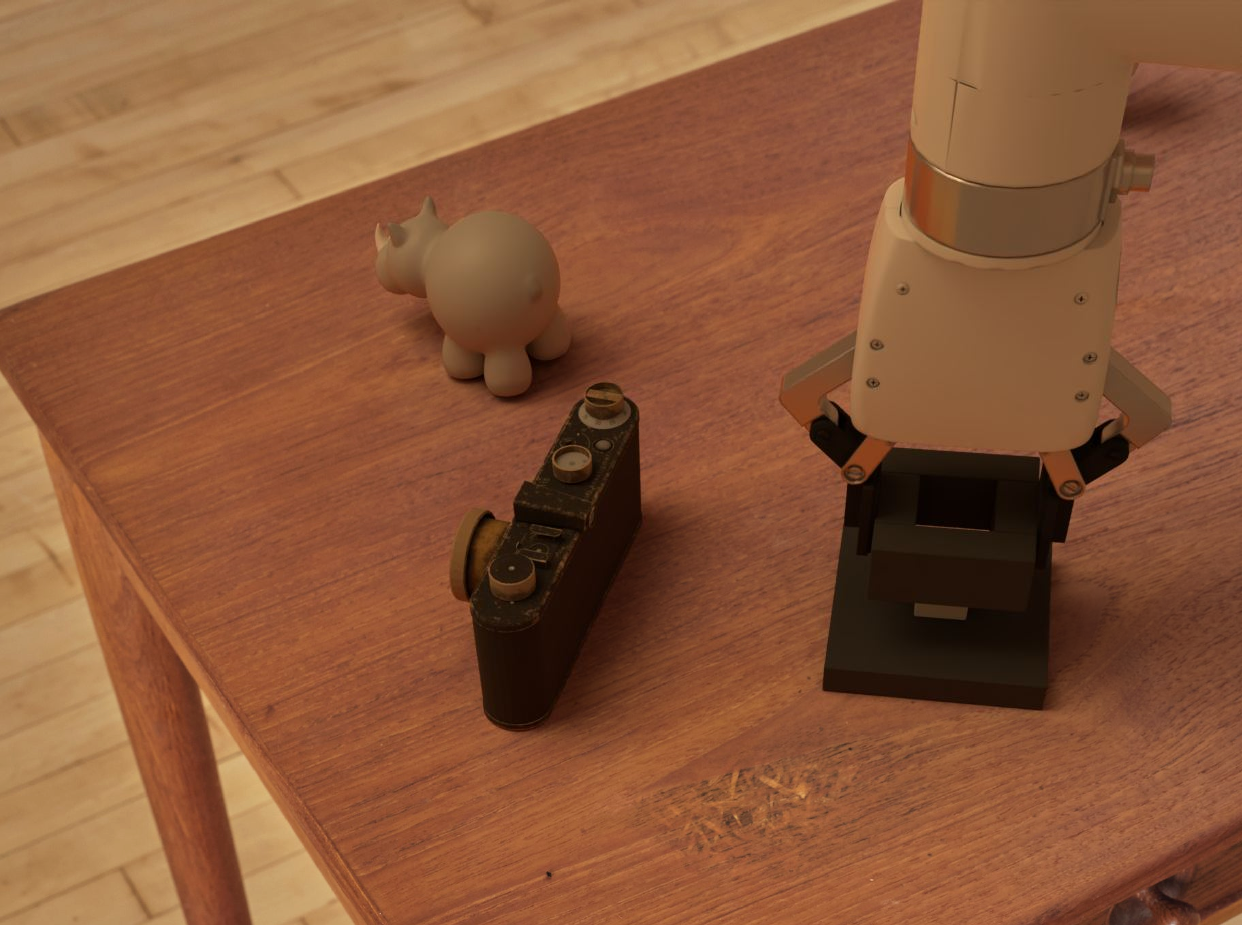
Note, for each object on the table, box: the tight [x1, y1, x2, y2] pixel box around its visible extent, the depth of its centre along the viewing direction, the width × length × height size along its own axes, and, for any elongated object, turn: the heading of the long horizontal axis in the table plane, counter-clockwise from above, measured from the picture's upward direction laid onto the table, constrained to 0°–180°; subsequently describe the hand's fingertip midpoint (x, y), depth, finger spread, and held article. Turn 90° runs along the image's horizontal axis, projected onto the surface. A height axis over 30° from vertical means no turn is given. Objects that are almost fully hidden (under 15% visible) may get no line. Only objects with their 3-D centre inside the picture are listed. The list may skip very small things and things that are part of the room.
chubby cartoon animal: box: [373, 194, 571, 397], centre depth 98 cm, size 7×12×8 cm, turn 50°
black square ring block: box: [866, 446, 1041, 612], centre depth 81 cm, size 7×7×3 cm
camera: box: [448, 381, 643, 731], centre depth 85 cm, size 16×7×8 cm, turn 160°
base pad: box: [821, 523, 1054, 711], centre depth 85 cm, size 10×10×4 cm
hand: (951, 539), depth 82 cm, fingers closed on black square ring block, 7 cm apart
